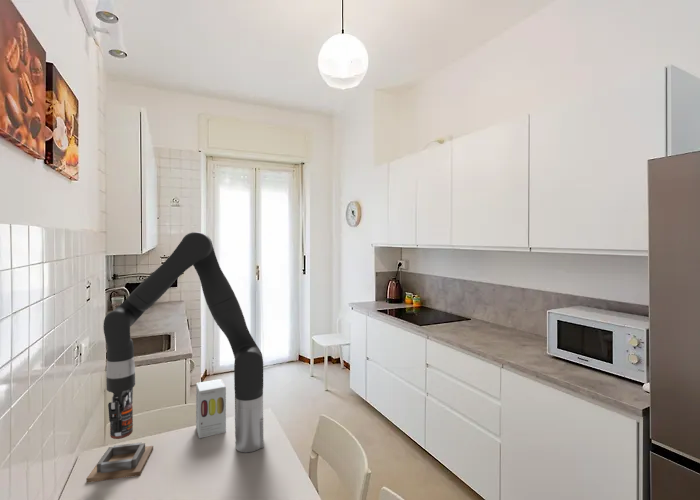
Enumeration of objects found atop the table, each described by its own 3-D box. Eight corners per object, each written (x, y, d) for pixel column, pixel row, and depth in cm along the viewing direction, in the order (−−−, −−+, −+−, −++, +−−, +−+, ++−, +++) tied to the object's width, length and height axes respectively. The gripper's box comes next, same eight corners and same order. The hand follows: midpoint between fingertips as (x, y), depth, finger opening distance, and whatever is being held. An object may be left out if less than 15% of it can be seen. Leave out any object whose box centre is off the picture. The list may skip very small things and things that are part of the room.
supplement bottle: (122, 441, 111) (121, 403, 111) (105, 438, 112) (104, 402, 112) (137, 430, 117) (136, 395, 117) (121, 429, 118) (120, 393, 118)
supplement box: (198, 439, 130) (197, 391, 129) (195, 427, 138) (194, 382, 138) (226, 432, 135) (226, 386, 134) (222, 421, 143) (221, 377, 142)
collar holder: (153, 449, 124) (153, 438, 123) (140, 475, 110) (140, 463, 110) (105, 455, 120) (105, 443, 120) (86, 482, 107) (86, 470, 106)
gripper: (126, 380, 108) (127, 437, 109) (141, 364, 122) (142, 414, 123) (97, 382, 106) (98, 440, 107) (116, 366, 120) (116, 417, 121)
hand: (121, 426), depth 115 cm, fingers closed on supplement bottle, 6 cm apart
